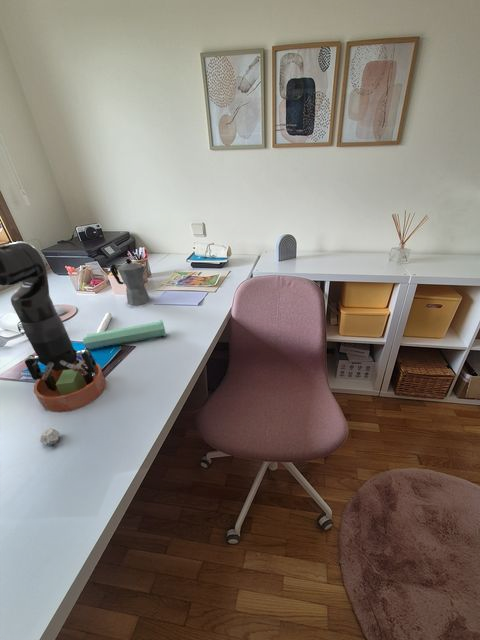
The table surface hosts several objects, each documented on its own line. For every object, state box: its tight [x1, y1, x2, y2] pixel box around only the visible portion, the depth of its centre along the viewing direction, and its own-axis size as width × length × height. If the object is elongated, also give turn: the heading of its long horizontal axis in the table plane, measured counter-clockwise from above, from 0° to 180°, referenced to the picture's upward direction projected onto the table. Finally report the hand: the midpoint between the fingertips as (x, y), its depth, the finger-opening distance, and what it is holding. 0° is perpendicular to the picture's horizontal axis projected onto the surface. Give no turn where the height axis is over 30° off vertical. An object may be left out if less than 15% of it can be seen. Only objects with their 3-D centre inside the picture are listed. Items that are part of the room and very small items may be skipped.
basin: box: [33, 360, 107, 413], centre depth 79 cm, size 15×15×4 cm
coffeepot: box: [109, 258, 150, 306], centre depth 123 cm, size 15×9×18 cm, turn 82°
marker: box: [95, 312, 113, 333], centre depth 109 cm, size 18×2×2 cm, turn 11°
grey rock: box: [39, 427, 60, 446], centre depth 65 cm, size 4×4×3 cm
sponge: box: [56, 369, 85, 396], centre depth 78 cm, size 4×6×4 cm, turn 13°
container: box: [82, 319, 167, 351], centre depth 99 cm, size 6×6×25 cm
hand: (72, 386), depth 79 cm, fingers open, 8 cm apart
